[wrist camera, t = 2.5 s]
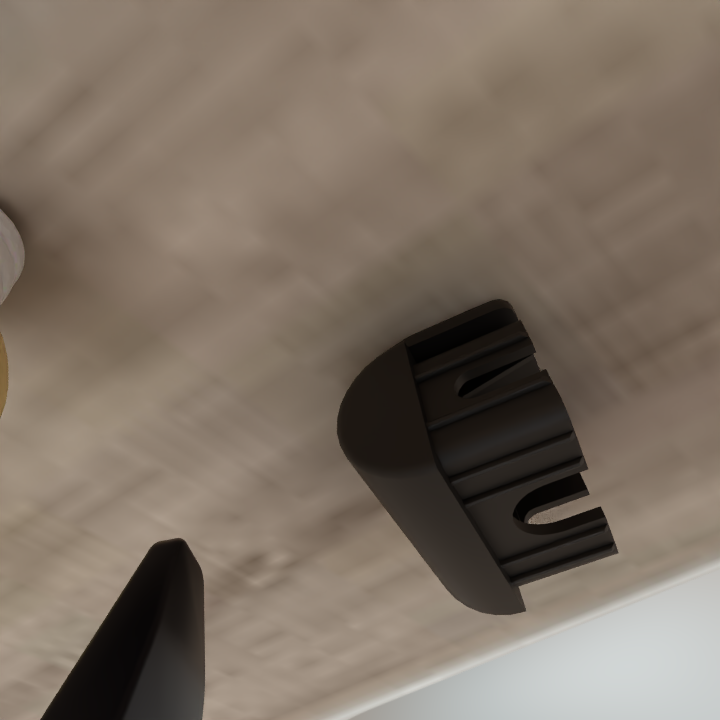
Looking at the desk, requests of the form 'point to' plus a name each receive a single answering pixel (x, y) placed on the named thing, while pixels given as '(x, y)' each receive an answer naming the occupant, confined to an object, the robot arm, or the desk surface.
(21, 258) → the light bulb
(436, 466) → the end cap
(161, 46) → the desk surface
